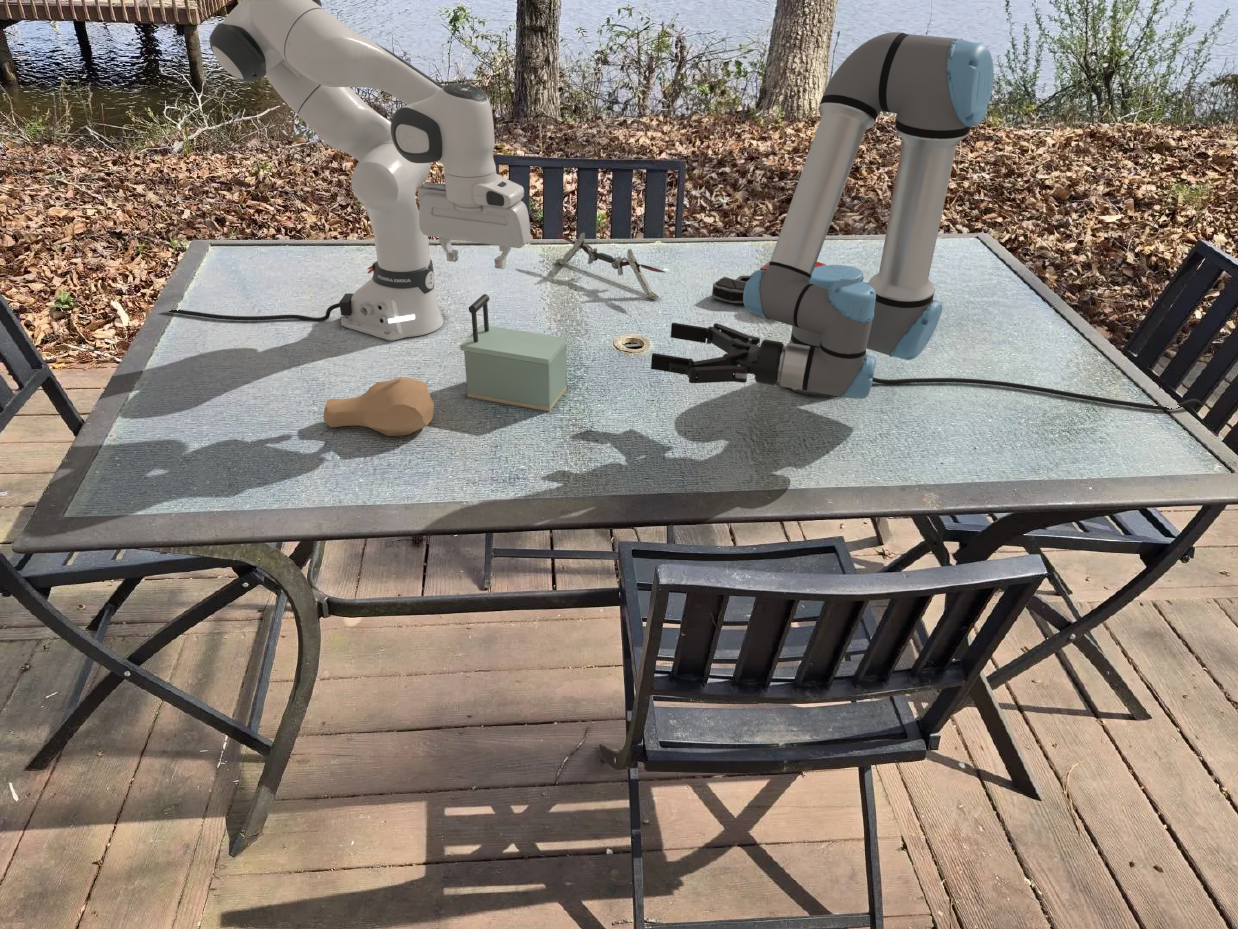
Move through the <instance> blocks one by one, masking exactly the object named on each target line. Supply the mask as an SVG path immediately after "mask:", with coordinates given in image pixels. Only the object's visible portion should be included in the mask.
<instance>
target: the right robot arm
mask: <svg viewBox="0 0 1238 929" xmlns="http://www.w3.org/2000/svg"><path fill="white" fill-rule="evenodd" d="M993 86H994V60H993V58H992V53H991V51H990V50H989V48H988V47H987V45H985V44H984V43H983V44H982V43H980V42H975V41H969V40H965V39H963V38H956V37H955V38H953V37H943V36H934V35H933V36H932V35H924V34H923V35H922V34H910V33H905V32H899V31H897V32H895V31H892V32H885V33H883V34H880V35H876V36H874V37H872V38H870V39H868V40H867V41H865V42H863V43H862V44H861V45H860V46H859V47H857V48H856V49H854V50H853V52H851V53H850V54H849V55H848V56H847V57H846V59H845V60H844V61H843V62H842V63H841V64H840V66H839V67H838V68H837V69H836V71H835V72H834V73H833V75H832V76H831V78H830V80H829V81H828V83H827V85H826V87H825V89H824V91H823V94H822V97H821V99H820V102H819V105H818V107H817V110H818V112H819V115H820V116H821V117H820V120H819V123H818V126H817V128H816V131H815V133H814V137H813V140H812V142H811V146H810V147H809V151H808V154H807V157H806V158H805V162H804V165H803V168H802V170H801V172H800V176H799V178H798V182H797V185H796V188H795V190H794V193H793V196H792V199H791V202H790V204H789V206H788V210H787V212H786V216H785V218H784V221H783V224H782V227H781V230H780V231H779V232H780V233H779V235H778V238H777V240H776V244H775V246H774V250H773V252H772V255H771V257H770V260H769V261H770V263H769V266H768V268H767V270H766V271H765V270H760V269H757V270H755V271H754V272H752V273H751V274H750V275H749V276H750V279H749V280H748V281H747V283H746V285H745V289H744V294H743V302H744V303H743V305H744V307H745V309H746V310H747V311H748V312H749V313H751V314H754V315H757V316H759V317H762V318H764V319H765V320H771V321H774V322H778V323H781V324H785V325H788V326H792V327H791V335H790V339H789V342H788V343H786V345H784V344H785V343H783V342H782V341H779V340H778V341H777V340H772V339H763V340H762V341H761V338H760V337H757V336H753V335H749V334H746V333H744V332H741V331H738V330H736V329H734V328H730V327H728V326H726V325H723V324H720V323H718V322H717V323H716V322H715V323H713V326H708V327H704V326H699V325H698V326H697V325H691V324H685V323H678V322H671V326H670V339H677V340H684V341H688V342H689V341H690V342H694V343H695V342H697V343H702V344H706V345H711V344H712V345H714V346H715V347H717V348H718V349H720V350H721V351H724V352H725V353H724V354H723V355H722V356H719V357H714V358H707V359H701V360H694V359H692V358H691V357H690V358H686V357H680V356H674V355H669V354H663V353H656V352H652V354H651V363H650V364H651V365H650V366H651V367H650V370H654V371H662V372H667V373H673V374H677V375H678V374H679V375H684V376H687V377H688V383H689V384H711V383H728V382H729V383H730V382H734V383H740V384H741V383H742V384H744V383H745V384H746V383H747V381H748V375H754V380H755V382H756V383H757V384H758V383H759V384H764V385H770V386H775V385H777V383H779V386H780V387H782V388H783V387H784V388H786V389H788V390H790V391H793V392H795V393H798V394H801V395H805V396H811V397H823V398H824V397H834V396H836V397H839V398H848V399H857V400H864V399H866V398H868V397H869V396H870V393H871V389H872V384H873V383H876V384H883V385H899V384H900V385H901V384H916V383H917V384H920V383H921V384H923V383H927V384H928V383H957V384H958V383H959V384H961V383H962V384H978V385H987V386H988V385H989V386H996V387H997V386H998V387H1008V388H1016V389H1022V390H1028V391H1033V392H1041V393H1046V394H1052V395H1056V396H1057V395H1058V396H1062V397H1063V396H1064V397H1069V398H1074V399H1081V400H1087V401H1093V402H1099V403H1104V404H1110V405H1116V406H1117V405H1118V406H1124V407H1125V406H1126V407H1132V408H1139V409H1147V410H1157V411H1173V410H1177V409H1181V408H1184V407H1187V406H1188V405H1192V404H1195V406H1197V407H1199V408H1204V405H1203V403H1202V402H1201V401H1200V400H1199V399H1196V398H1190V399H1187V400H1184V401H1182V402H1179V403H1176V404H1177V405H1179V406H1180V407H1178V408H1176V409H1172V408H1171V409H1169V408H1167V407H1160V406H1153V405H1154V404H1149V403H1142V402H1135V401H1129V400H1128V401H1127V400H1120V399H1113V398H1106V397H1100V396H1095V395H1088V394H1082V393H1075V392H1071V391H1066V390H1059V389H1053V388H1048V387H1043V386H1035V385H1028V384H1023V383H1017V382H1008V381H1001V380H1000V381H999V380H991V379H981V378H980V379H979V378H963V377H962V378H961V377H921V378H920V377H918V378H915V377H914V378H913V377H912V378H897V379H884V378H877V377H874V375H875V370H876V364H877V359H876V357H875V356H873V355H870V354H868V353H867V350H870V351H873V352H877V353H880V354H883V355H886V356H889V358H898V359H901V360H905V361H913V360H914V359H916V358H918V357H919V356H920V355H921V353H922V352H923V351H924V349H925V348H926V347H927V345H928V344H929V342H930V340H931V339H932V337H933V334H934V333H935V330H936V329H937V327H938V324H939V322H940V318H941V315H942V312H943V304H942V303H941V302H940V301H939V300H937V299H935V300H934V296H935V292H936V287H935V285H934V284H933V282H932V281H931V280H930V279H929V278H930V272H931V268H932V264H933V259H934V253H935V249H936V245H937V240H938V235H939V230H940V225H941V221H942V216H943V211H944V207H945V202H946V197H947V193H948V188H949V183H950V178H951V174H952V169H953V165H954V160H955V156H956V151H957V147H958V146H957V145H958V144H959V143H960V142H961V141H963V140H964V139H966V138H967V137H968V136H969V134H970V132H971V129H972V127H976V126H978V125H979V124H980V123H981V122H982V121H983V120H984V118H985V116H986V113H987V112H988V111H987V110H988V105H989V104H990V101H991V99H992V98H991V97H992V92H993ZM882 112H884V113H889V114H896V119H895V124H894V130H895V131H896V133H897V134H898V135H899V136H900V138H901V146H900V152H899V158H898V163H897V168H896V174H895V179H894V180H895V181H894V187H893V191H892V196H891V203H890V209H889V214H888V220H887V226H886V231H885V236H884V243H883V248H882V253H881V254H882V255H881V258H880V266H879V270H878V272H877V273H876V274H874V275H873V276H872V277H870V278H869V280H868V282H865V281H864V279H865V277H864V272H863V271H862V270H861V269H859V268H857V267H854V266H851V265H844V264H826V265H825V266H819V267H815V265H816V262H818V259H819V256H820V253H821V252H822V248H823V246H824V244H825V241H826V237H827V235H828V232H829V229H830V226H831V224H832V222H833V218H834V216H835V213H836V211H837V208H838V205H839V203H840V200H841V197H842V195H843V193H844V189H845V186H846V184H847V181H848V178H849V176H850V173H851V170H852V168H853V165H854V162H855V160H856V157H857V155H858V152H859V149H860V147H861V143H862V141H863V138H864V135H865V133H866V131H867V130H869V129H871V128H873V127H874V126H875V123H876V121H877V117H878V115H879V114H880V113H882ZM814 267H815V268H814Z"/></svg>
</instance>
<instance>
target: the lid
mask: <svg viewBox="0 0 1238 929" xmlns="http://www.w3.org/2000/svg"><path fill="white" fill-rule="evenodd" d="M488 302H490V296H489V295H488V294H487V293H483V294H482V295H480V297H478V299H476V300H475V301H474V302H473V303H472V304H471V305H470V306H469V307H468V311H469V313H470V315H471V325H472V333H471V334H470V335H469V336H468V337H467V338H465V340H464V341H463V342H462V343H460V344H459V348H460V351H463V352H464V351H469V352H475V353H481V354H487V355H493V356H499V357H505V358H511V359H517V360H523V361H529V362H535V363H541V364H547V365H549V364H550V362H551V361H552V360H553V359H554V358H555V356H556V355H557V354H558V353H559V352H560V350H561V349H562V348H563V347H564V346H565V344H567V340H568V339H567V337H562V336H557V335H550V334H543V333H537V332H530V331H525V330H517V329H512V328H507V327H506V328H505V327H499V326H493V325H490V324H489V308H488ZM481 309H482V314H483V315H482V316H483V324H480V326H478V318H477V316H478V315H477V312H479V311H480V310H481Z"/></svg>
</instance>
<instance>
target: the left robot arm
mask: <svg viewBox="0 0 1238 929" xmlns="http://www.w3.org/2000/svg"><path fill="white" fill-rule="evenodd" d="M208 39H209V47H210V50H211V52H212V53H213V55H214V57H215V59H216V61H217V63H218V64H219V65H220V66H221V67H222V68H223V70H224V71H226V72H227V73H228V74H230V75H231V76H232V77H234V78H236V79H237V80H239V81H240V82H245V83H254V82H257V81H258V80H260V79H262V78H264V77H265V78H266V79H267V80H268V82H269V83H270V85H271V86H272V88H273V89H274V90H275V91H276V93H277V94H278V95H279V97H280V98H281V99H282V100H283V101H284V102H285V104H287V105H288V107H289V108H290V109H291V110H292V111H293V112H294V113H295V114H296V115H297V116H298V118H300V119H301V120H302V121H303V122H304V123H305V124H306V125H307V126H308V127H309V128H310V129H311V130H312V131H313V132H314V133H315V134H316V135H317V136H318V137H319V138H320V139H322V141H323V142H324V143H325V144H327V145H328V146H329V147H331V148H333V149H335V150H339V151H341V152H343V153H345V154H348V155H349V156H350V157H352V158H353V159H355V160H357V161H358V162H357V164H356V166H355V167H354V169H353V171H352V174H351V177H350V178H351V179H350V182H351V184H350V186H351V189H352V192H353V194H354V196H355V197H356V199H357V200H358V201H359V203H361V205H363V206H364V209H365V212H366V214H367V216H368V219H369V222H370V226H371V228H372V234H373V239H374V247H375V253H376V254H375V255H376V261H374V262H373V263H372V265H371V266H369V267H368V268H367V274H370V273H372V277H371V278H370V279H369V280H367V282H365V283H364V284H363V285H362V286H360V287H359V288H358V289H356V290H355V292H354V293H347V292H345V293H344V295H343V296H342V298H341V299H340V301H338V303H334V304H332V305H330V306H329V307H328V308H327V309H326V311H325V315H324V316H321V317H312V316H307V315H301V314H276V315H274V314H273V315H225V314H214V313H208V312H201V311H193V310H187V309H186V310H185V309H179V310H178V311H177V310H171V311H169V312H168V313H171V314H179V315H185V316H193V317H201V318H207V319H215V320H225V321H227V320H228V321H274V320H276V321H277V320H302V321H307V322H324V321H327V320H329V319H330V317H331V313H332V311H333V310H335V309H339V311H340V316H342V317H341V320H340V324H341V326H342V327H344V328H347V329H350V330H354V331H357V332H360V333H364V334H367V335H370V336H373V337H377V338H380V339H383V340H387V341H396V340H397V341H398V340H401V339H404V338H412V337H420V336H423V335H427V334H430V333H431V334H432V333H434V332H436V331H437V330H439V329H441V327H442V326H443V325H444V323H445V320H444V317H443V314H442V312H441V310H440V307H439V303H438V300H437V296H436V291H435V271H434V264H433V260H432V259H431V253H430V243H429V237H432V238H433V237H434V238H438V241H439V245H440V246H441V248H442V250H443V251H444V252H445V254H446V260H447V262H451V263H456V262H458V261H459V250H458V249H454V247H453V245H452V243H451V242H450V241H452V240H456V241H463V242H470V243H476V244H477V243H478V244H484V245H491V246H498V249H499V251H500V252H501V254H500V255H498V256H496V258H494V260H493V261H494V268H495V269H499V270H504V269H505V268H506V267H507V257H508V255H509V253H510V251H511V250H512V248H514V249H522V248H523V247H524V246H526V245H527V244H528V243H529V241H530V240H531V222H530V216H529V211H528V207H527V205H526V204H525V202H524V201H522V199H523V198H524V197H525V188H524V187H523V186H522V185H521V184H519V183H517V182H515V181H512V180H510V179H508V178H506V177H503V176H501V175H500V174H498V173H497V165H496V162H495V159H494V150H495V146H496V142H495V141H496V140H495V125H494V117H493V111H492V106H491V102H490V100H489V98H488V95H487V93H486V92H484V91H483V90H481V89H480V88H478V87H476V86H474V85H470V84H467V83H465V84H463V83H449V84H446V85H443V84H441V83H440V82H438V81H436V80H435V79H433V78H432V77H430V76H428V75H427V74H425V73H424V72H423V71H421V70H420V69H418V68H416V66H414V65H412V64H411V63H409V62H407V61H406V60H404V59H403V58H401V57H400V56H398V54H395V53H394V52H392V51H391V50H388V48H385V47H383V46H381V45H380V44H378V43H376V42H374V41H372V40H371V39H369V38H367V37H365V36H364V35H362V34H360V33H359V32H357V31H355V30H354V29H352V28H351V27H350V26H348V25H346V24H345V23H343V22H342V21H341V20H339V19H338V18H336V17H335V16H334V15H333V14H331V13H330V12H328V10H326V9H325V8H324V7H323V5H322V2H321V0H240V2H239V3H237V5H236V6H235V7H234V8H233V9H232V10H231V11H230V12H229V13H228V14H227V15H226V17H225V18H224V19H223V20H222V22H219V23H217V24H216V26H215V27H214V28H213V30H212V32H211V33H210V35H209V38H208ZM352 88H366V89H367V88H368V89H374V90H378V91H382V92H384V93H387V94H389V95H391V96H392V97H393V98H396V99H397V100H398V101H399V102H401V103H403V104H405V105H404V106H402V107H400V108H398V109H396V111H395V112H394V114H393V115H392V118H391V120H388V119H387V118H386V117H384V116H383V115H382V114H380V113H379V112H378V111H376V110H375V109H373V108H372V107H371V106H370V105H369V104H368V103H366V102H365V101H364V100H363V99H362V98H361V97H360V95H358V94H357V93H356V91H354V90H353V89H352ZM436 162H437V163H440V164H442V166H443V177H444V183H440V182H439V183H438V182H437V183H436V182H431V181H426V180H427V179H428V176H429V175H430V172H431V169H432V163H436ZM416 193H417V199H418V202H419V206H418V205H417V201H416ZM418 207H419V208H418Z"/></svg>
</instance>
